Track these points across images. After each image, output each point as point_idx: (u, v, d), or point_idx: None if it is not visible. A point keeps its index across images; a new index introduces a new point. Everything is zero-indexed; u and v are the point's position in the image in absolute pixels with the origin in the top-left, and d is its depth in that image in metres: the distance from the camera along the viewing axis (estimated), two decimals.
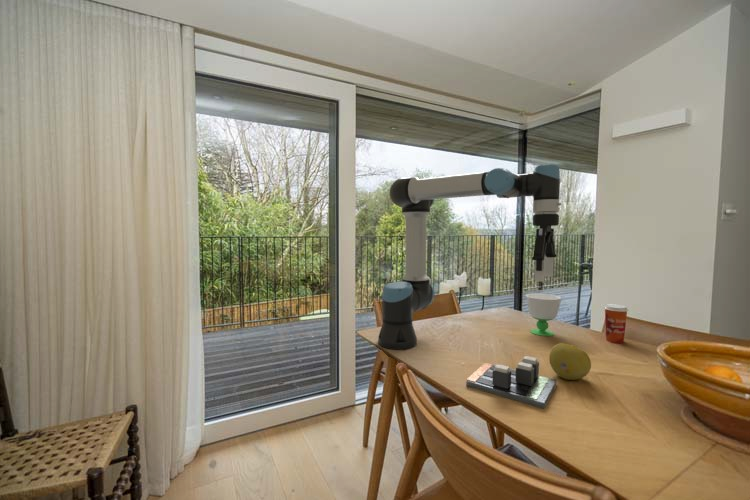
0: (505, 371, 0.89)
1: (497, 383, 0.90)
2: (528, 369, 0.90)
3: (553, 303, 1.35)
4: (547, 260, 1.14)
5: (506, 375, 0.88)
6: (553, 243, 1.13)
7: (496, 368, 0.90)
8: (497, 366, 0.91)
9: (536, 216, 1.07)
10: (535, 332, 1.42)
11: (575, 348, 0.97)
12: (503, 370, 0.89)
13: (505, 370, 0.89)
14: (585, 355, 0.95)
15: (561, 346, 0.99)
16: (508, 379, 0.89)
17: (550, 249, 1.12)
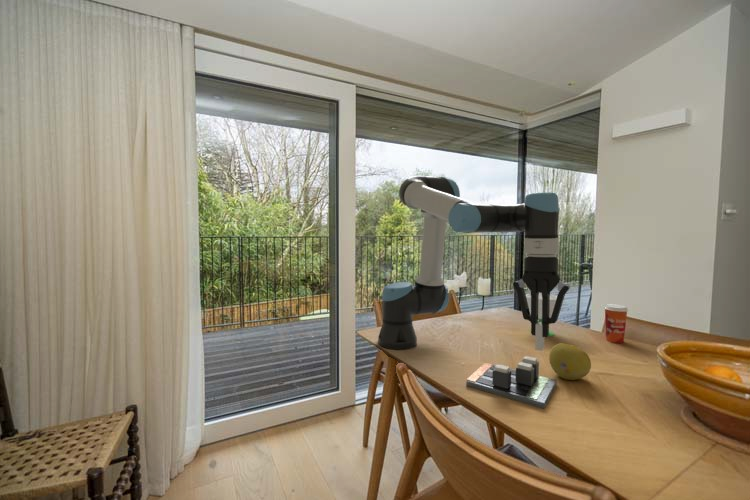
0: (505, 371, 0.89)
1: (497, 383, 0.90)
2: (528, 369, 0.90)
3: (553, 303, 1.35)
4: None
5: (506, 375, 0.88)
6: (555, 303, 0.80)
7: (496, 368, 0.90)
8: (497, 366, 0.91)
9: None
10: None
11: (575, 348, 0.97)
12: (503, 370, 0.89)
13: (505, 370, 0.89)
14: (585, 355, 0.95)
15: (561, 346, 0.99)
16: (508, 379, 0.89)
17: None
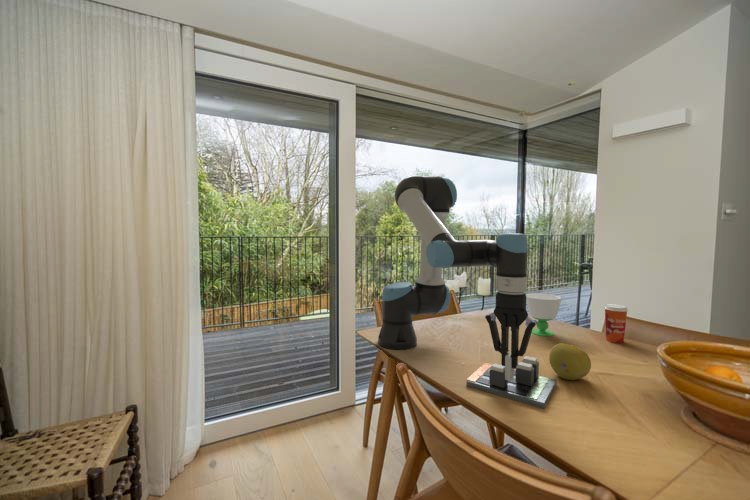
0: (502, 370, 0.89)
1: (493, 382, 0.90)
2: (528, 369, 0.90)
3: (553, 303, 1.35)
4: None
5: (503, 374, 0.89)
6: None
7: (493, 367, 0.91)
8: (494, 365, 0.91)
9: None
10: (535, 332, 1.42)
11: (575, 348, 0.97)
12: (500, 369, 0.90)
13: (502, 369, 0.89)
14: (585, 355, 0.95)
15: (561, 346, 0.99)
16: None
17: None
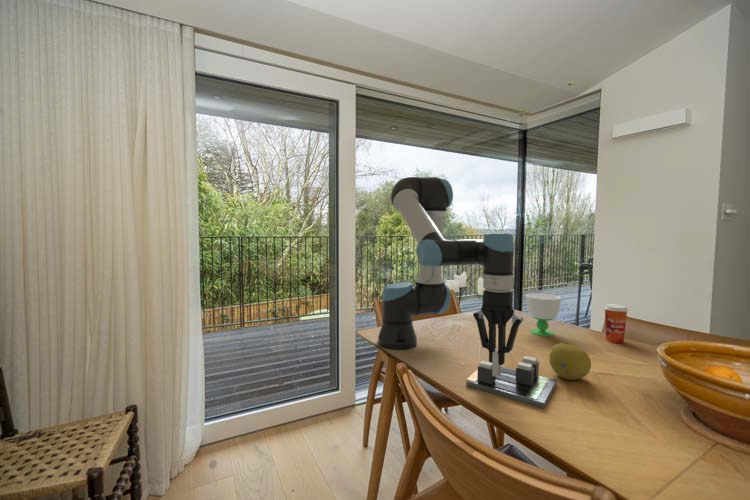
0: (489, 367, 0.91)
1: (481, 379, 0.93)
2: (528, 369, 0.90)
3: (553, 303, 1.35)
4: None
5: (490, 371, 0.91)
6: (509, 335, 0.88)
7: (481, 364, 0.93)
8: (482, 362, 0.93)
9: None
10: (535, 332, 1.42)
11: (575, 348, 0.97)
12: (487, 366, 0.92)
13: (489, 366, 0.91)
14: (585, 355, 0.95)
15: (561, 346, 0.99)
16: None
17: None
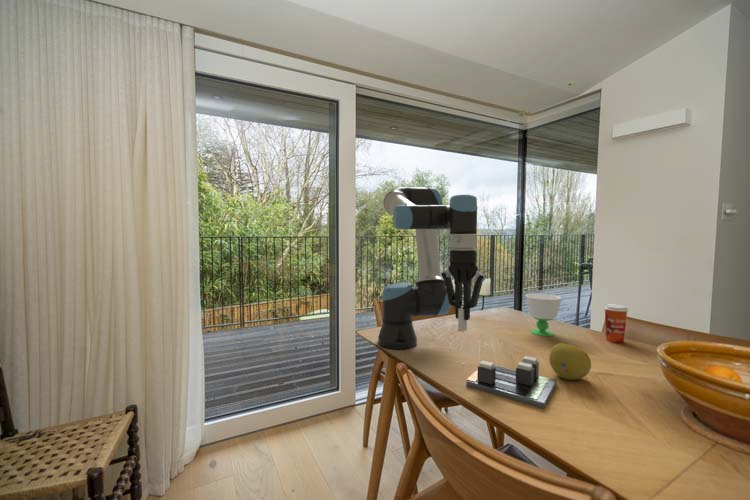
0: (489, 367, 0.91)
1: (481, 379, 0.93)
2: (528, 369, 0.90)
3: (553, 303, 1.35)
4: None
5: (490, 371, 0.91)
6: None
7: (481, 364, 0.93)
8: (482, 362, 0.93)
9: None
10: (535, 332, 1.42)
11: (575, 348, 0.97)
12: (487, 366, 0.92)
13: (489, 366, 0.91)
14: (585, 355, 0.95)
15: (561, 346, 0.99)
16: (492, 375, 0.91)
17: None
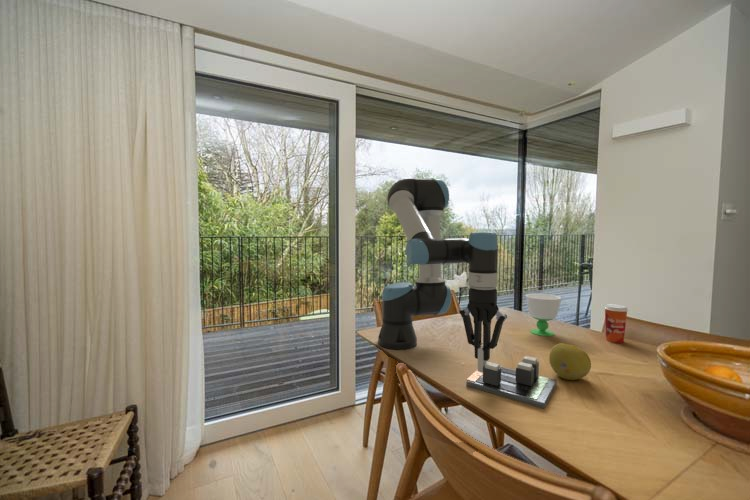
0: (495, 368, 0.90)
1: (487, 380, 0.92)
2: (528, 369, 0.90)
3: (553, 303, 1.35)
4: None
5: (496, 372, 0.90)
6: (493, 331, 0.90)
7: (486, 366, 0.92)
8: (487, 364, 0.92)
9: None
10: (535, 332, 1.42)
11: (575, 348, 0.97)
12: (493, 367, 0.91)
13: (495, 367, 0.90)
14: (585, 355, 0.95)
15: (561, 346, 0.99)
16: (498, 376, 0.90)
17: None
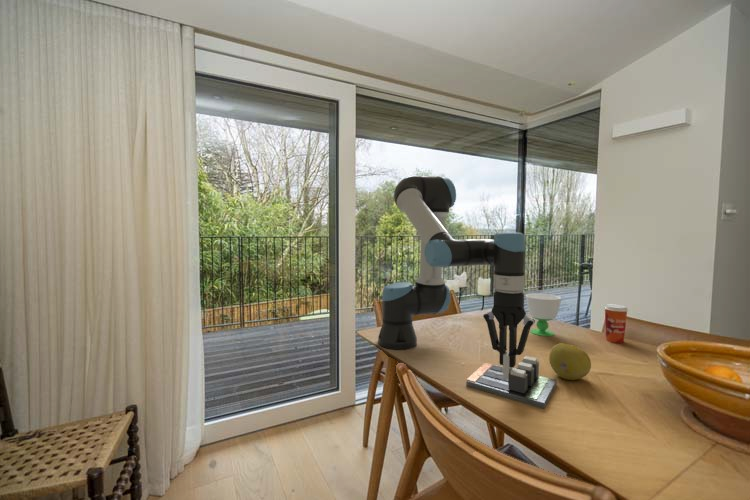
0: (522, 375, 0.86)
1: (513, 387, 0.87)
2: (528, 369, 0.90)
3: (553, 303, 1.35)
4: None
5: (523, 379, 0.86)
6: (520, 337, 0.86)
7: (512, 372, 0.88)
8: (513, 370, 0.88)
9: None
10: (535, 332, 1.42)
11: (575, 348, 0.97)
12: (519, 374, 0.86)
13: (522, 374, 0.86)
14: (585, 355, 0.95)
15: (561, 346, 0.99)
16: (525, 383, 0.86)
17: None
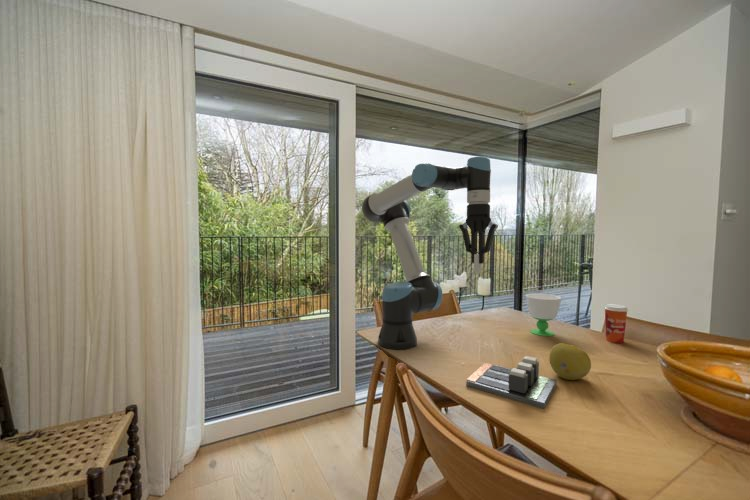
0: (522, 375, 0.86)
1: (513, 388, 0.87)
2: (528, 369, 0.90)
3: (553, 303, 1.35)
4: None
5: (523, 379, 0.86)
6: None
7: (512, 372, 0.88)
8: (513, 370, 0.88)
9: None
10: (535, 332, 1.42)
11: (575, 348, 0.97)
12: (520, 374, 0.86)
13: (522, 374, 0.86)
14: (585, 355, 0.95)
15: (561, 346, 0.99)
16: (525, 383, 0.86)
17: None
